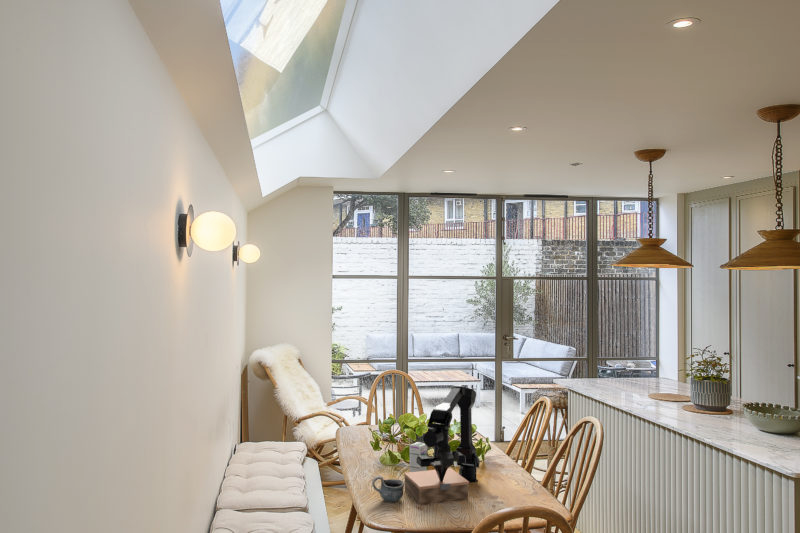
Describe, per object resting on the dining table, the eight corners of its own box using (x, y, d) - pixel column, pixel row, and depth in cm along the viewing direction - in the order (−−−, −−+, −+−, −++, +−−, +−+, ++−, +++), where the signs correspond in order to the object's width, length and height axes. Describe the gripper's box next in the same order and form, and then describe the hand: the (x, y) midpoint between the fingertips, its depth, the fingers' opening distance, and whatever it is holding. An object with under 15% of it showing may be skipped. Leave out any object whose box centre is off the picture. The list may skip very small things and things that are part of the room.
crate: (450, 485, 256) (450, 470, 256) (468, 499, 238) (468, 484, 239) (404, 490, 249) (404, 475, 250) (419, 505, 232) (419, 489, 232)
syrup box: (420, 480, 262) (420, 446, 262) (409, 477, 266) (409, 444, 266) (427, 477, 267) (427, 443, 267) (416, 474, 270) (416, 441, 271)
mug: (408, 503, 235) (408, 476, 235) (378, 508, 230) (378, 481, 230) (397, 495, 244) (397, 469, 244) (368, 499, 238) (368, 473, 239)
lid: (450, 472, 256) (450, 467, 256) (469, 486, 238) (469, 481, 238) (404, 477, 249) (404, 472, 249) (420, 492, 231) (420, 486, 231)
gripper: (426, 448, 228) (425, 490, 228) (471, 444, 234) (471, 485, 234) (416, 441, 239) (415, 481, 239) (460, 437, 245) (460, 476, 244)
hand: (441, 481), depth 239 cm, fingers closed, pressing on lid
